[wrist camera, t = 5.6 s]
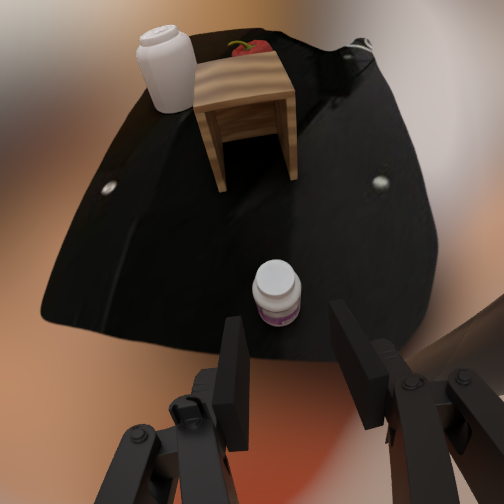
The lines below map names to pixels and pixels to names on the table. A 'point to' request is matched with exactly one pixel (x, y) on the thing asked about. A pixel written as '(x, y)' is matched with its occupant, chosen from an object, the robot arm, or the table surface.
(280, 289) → the pill bottle
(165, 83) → the white jar
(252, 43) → the vegetable
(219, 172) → the cubby
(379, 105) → the table surface
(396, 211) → the table surface
